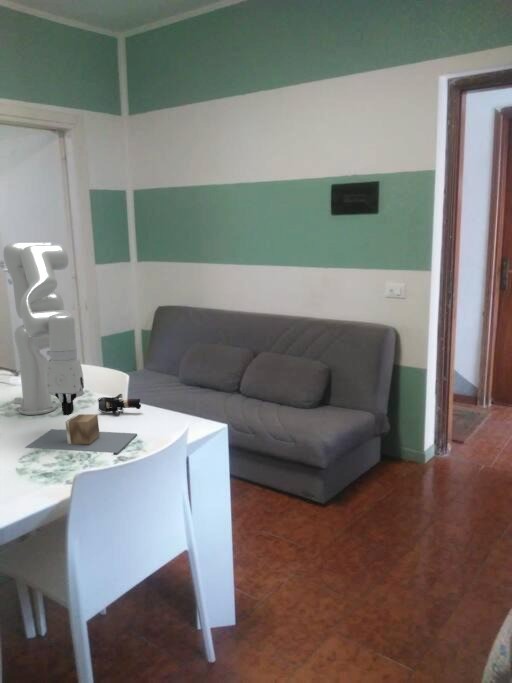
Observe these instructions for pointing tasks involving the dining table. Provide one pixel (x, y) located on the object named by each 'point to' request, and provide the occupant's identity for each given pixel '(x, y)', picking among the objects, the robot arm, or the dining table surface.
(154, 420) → the dining table surface
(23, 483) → the dining table surface
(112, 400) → the toy
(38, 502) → the dining table surface
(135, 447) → the dining table surface
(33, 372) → the robot arm
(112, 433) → the slate mat
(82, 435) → the walnut cube
